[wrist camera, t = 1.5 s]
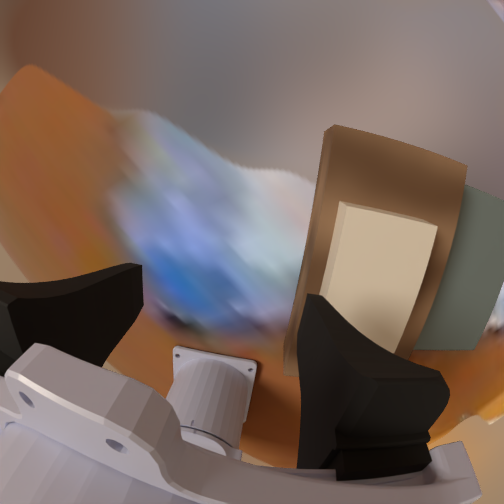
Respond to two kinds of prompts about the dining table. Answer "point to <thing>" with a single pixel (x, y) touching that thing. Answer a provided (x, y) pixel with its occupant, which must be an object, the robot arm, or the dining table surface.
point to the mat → (468, 276)
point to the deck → (385, 198)
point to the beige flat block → (376, 269)
